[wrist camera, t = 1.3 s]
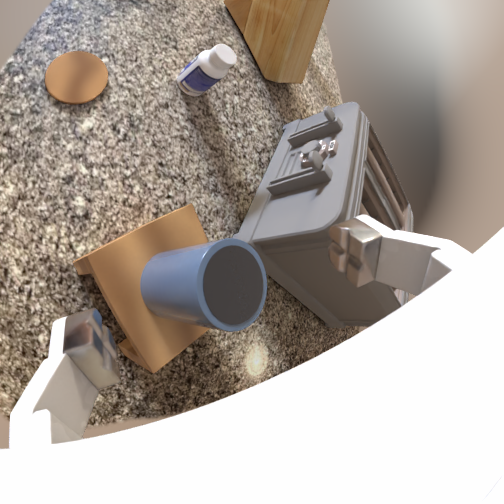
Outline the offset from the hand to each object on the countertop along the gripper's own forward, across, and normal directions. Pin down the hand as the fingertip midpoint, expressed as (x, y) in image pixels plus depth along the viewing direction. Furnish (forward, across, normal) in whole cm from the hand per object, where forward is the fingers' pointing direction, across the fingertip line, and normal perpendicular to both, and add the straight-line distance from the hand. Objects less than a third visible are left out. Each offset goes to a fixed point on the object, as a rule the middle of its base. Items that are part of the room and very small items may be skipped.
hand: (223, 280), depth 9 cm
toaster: (+36, -26, +22) cm, 49 cm away
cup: (+15, +2, +10) cm, 18 cm away
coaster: (+33, +7, -12) cm, 36 cm away
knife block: (+58, -29, -20) cm, 68 cm away
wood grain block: (+21, +5, +14) cm, 26 cm away
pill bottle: (+40, -9, -7) cm, 41 cm away
